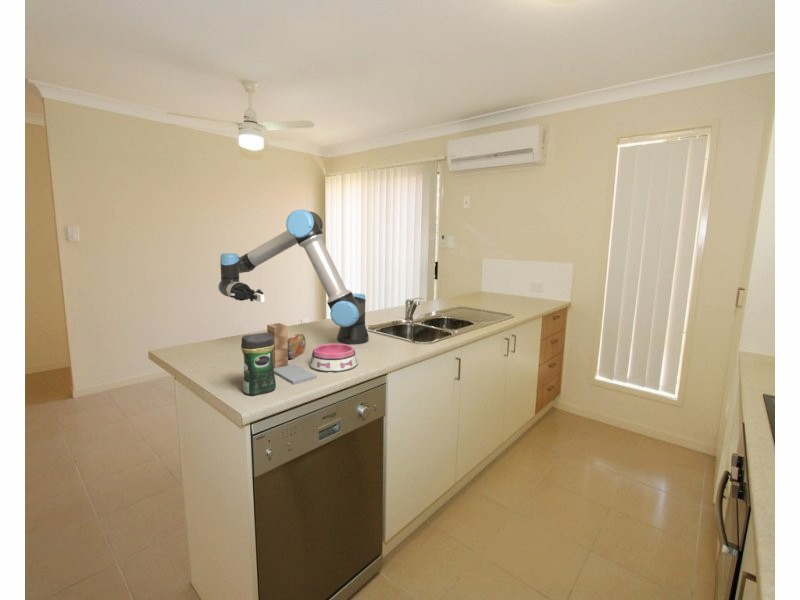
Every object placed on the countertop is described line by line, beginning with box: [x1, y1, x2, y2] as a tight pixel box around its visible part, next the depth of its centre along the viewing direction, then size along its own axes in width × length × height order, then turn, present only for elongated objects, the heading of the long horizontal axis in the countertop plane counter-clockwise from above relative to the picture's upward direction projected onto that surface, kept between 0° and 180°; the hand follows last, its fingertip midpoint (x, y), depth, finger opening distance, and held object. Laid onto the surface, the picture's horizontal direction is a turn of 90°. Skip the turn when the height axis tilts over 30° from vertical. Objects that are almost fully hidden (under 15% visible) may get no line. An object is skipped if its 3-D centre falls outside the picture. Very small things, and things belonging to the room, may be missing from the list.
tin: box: [287, 333, 306, 360], centre depth 158 cm, size 15×3×8 cm, turn 168°
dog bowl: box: [308, 343, 359, 373], centre depth 148 cm, size 18×19×7 cm
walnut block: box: [266, 322, 289, 369], centre depth 143 cm, size 5×6×16 cm
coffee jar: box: [240, 332, 277, 396], centre depth 120 cm, size 10×8×19 cm
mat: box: [274, 363, 318, 385], centre depth 136 cm, size 9×16×1 cm, turn 44°
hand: (262, 298), depth 148 cm, fingers closed
